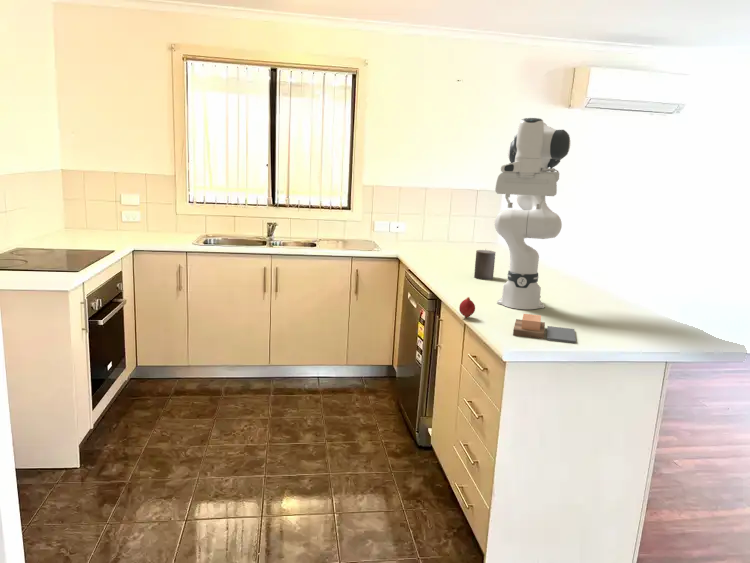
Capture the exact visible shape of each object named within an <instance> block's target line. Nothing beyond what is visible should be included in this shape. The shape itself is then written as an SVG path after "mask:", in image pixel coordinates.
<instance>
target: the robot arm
mask: <svg viewBox="0 0 750 563" xmlns="http://www.w3.org/2000/svg"><path fill="white" fill-rule="evenodd" d="M570 148H571V136H570V134H569V133H568V132H567V131H566V130H565V129H555V128H553V127H551V126H548V124H546V123H545V122H544V120H543V119H542V118H539V117H538V118H537V117H525V118H522V119H521V120H520V121H519V125H518V128H517V133H516V134H515V135H514V137H513V140H512V141H511V142H510V144H509V146H508V150H507V156H508V159H509V163H506V164H504V165H501V166H500V173H499V174H498V175H497V179H496V183H495V188H494V189H495V190H494V191H495V193H496V194H497V195H505V197H504V198H505V199H506V202H507V208H509V209H507V210H501V211H500V212H498V214H497V215H496V216H495V219H494V228H495V231H496V232H497V233H498V234H499V235H500V236H501V237H502V238H503V239H504V241H505V243H506V245H507V246H508V249H509V270H508V272H507V281H506V282H504V283H503V284H502V295H501V297H500V298H499V299H498V300H497V301H496V304H499V305H502V306H505V307H507V308H512V309H517V310H536V309H544V308H545V305H544V303H543V302H542V300H541V290H542V289H541V287H540V285H539V272H538V270H539V260H540V259H539V258H540V255H539V252H538V251H537V249H534V248H533V247H532V246H530V245H528V244H527V243H526V242H525V239H535V240H536V239H537V240H538V239H540V240H547V239H553V238H554V239H555V238H556V237H557V236H558V235H559V234H560V232H561V230H562V226H563V224H562V219H561V217H560V216H559V214H557V213H555V212H554V211H553V210H552V209H550V207H549V206H548V204H547V203H546V197H555V196H556V195H557V191H558V189H557V188H558V186H557V185H558V183H557V182H558V181H559V180H560V172H559V170H557V169H556V168H555V167H556V166H558V165H559V164H560V162H561V160H562V159H564V158H565V157H566V156H568V154H569V152H570ZM511 195H517V196H516V202H517V205H518V206H519V207H520V208H521V209H513V206H514V204H513V203H514V202H511V200H510V199H509V198H511Z"/></svg>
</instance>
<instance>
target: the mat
mask: <svg viewBox="0 0 750 563" xmlns="http://www.w3.org/2000/svg"><path fill="white" fill-rule="evenodd" d="M546 328H547V329H546V341H552V342H561V343H568V344H576V343H577V340H576V334H575V333H576V332H575V328H572V327H571V328H569V327H561V326H552V325H551V326H550V325H547V327H546Z"/></svg>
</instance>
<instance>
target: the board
mask: <svg viewBox="0 0 750 563" xmlns="http://www.w3.org/2000/svg"><path fill="white" fill-rule="evenodd" d="M545 325H546V322H544V321H541V323H540V331H539V330H530V329H522V319H520V318H519V319H517V318H516V319H515V322H514V326H513V329H512V330H513V331H512V335H513V336H516V337H522V338H523V337H524V338H532V339H540V340H544V339H545V330H546V329H545Z"/></svg>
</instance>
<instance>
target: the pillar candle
mask: <svg viewBox="0 0 750 563" xmlns="http://www.w3.org/2000/svg"><path fill="white" fill-rule="evenodd" d="M495 260H496V251H493V250H488V249H478V250H476V253H475V261H474V262H475V264H474V273H473V274H474V276H473V278H476V279H478V280H485V281H486V280H487V281H489V280H493V279H494V273H495V262H496V261H495Z"/></svg>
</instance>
